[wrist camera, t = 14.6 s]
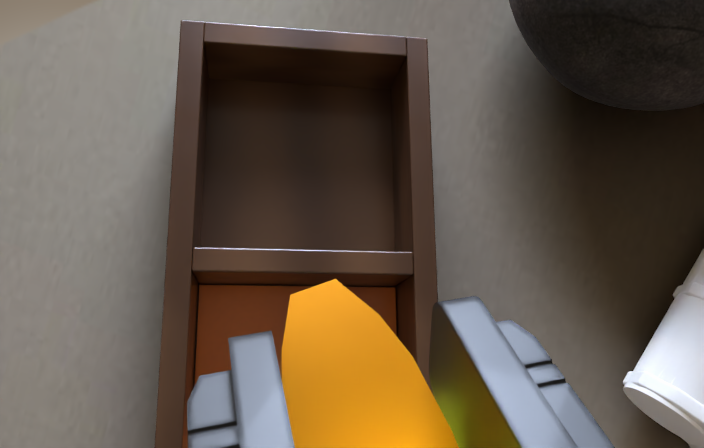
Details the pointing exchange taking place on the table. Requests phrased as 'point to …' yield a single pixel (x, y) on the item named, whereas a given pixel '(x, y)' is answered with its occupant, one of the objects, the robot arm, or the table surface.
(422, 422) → the toy figure
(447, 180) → the table surface
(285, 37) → the divided wooden tray
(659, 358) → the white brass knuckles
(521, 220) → the table surface
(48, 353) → the table surface
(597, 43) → the decorative stone
